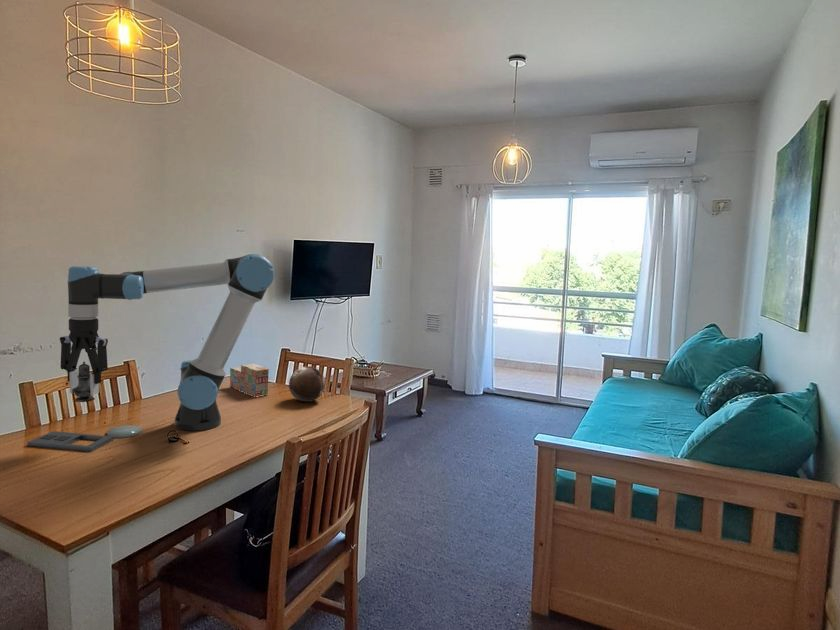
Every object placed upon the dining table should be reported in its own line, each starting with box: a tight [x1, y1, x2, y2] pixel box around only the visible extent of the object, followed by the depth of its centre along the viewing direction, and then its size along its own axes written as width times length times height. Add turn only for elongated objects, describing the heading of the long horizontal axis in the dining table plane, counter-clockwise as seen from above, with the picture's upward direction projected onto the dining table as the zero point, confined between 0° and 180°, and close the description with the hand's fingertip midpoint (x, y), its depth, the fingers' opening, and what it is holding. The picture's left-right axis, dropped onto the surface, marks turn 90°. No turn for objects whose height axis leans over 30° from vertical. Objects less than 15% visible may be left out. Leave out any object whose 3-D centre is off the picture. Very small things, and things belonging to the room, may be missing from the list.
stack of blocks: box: [229, 363, 270, 397], centre depth 228 cm, size 21×6×12 cm, turn 49°
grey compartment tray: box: [27, 430, 114, 453], centre depth 158 cm, size 20×10×1 cm, turn 86°
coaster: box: [106, 424, 143, 439], centre depth 170 cm, size 10×10×1 cm
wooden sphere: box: [288, 366, 326, 402], centre depth 219 cm, size 15×15×15 cm
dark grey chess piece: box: [73, 361, 96, 403], centre depth 156 cm, size 6×6×12 cm
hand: (84, 392), depth 157 cm, fingers closed on dark grey chess piece, 6 cm apart
